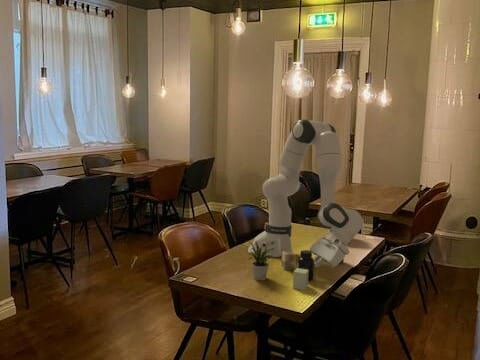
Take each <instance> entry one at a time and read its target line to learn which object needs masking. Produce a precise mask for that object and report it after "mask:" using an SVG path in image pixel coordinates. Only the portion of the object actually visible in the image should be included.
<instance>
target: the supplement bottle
mask: <svg viewBox="0 0 480 360" xmlns="http://www.w3.org/2000/svg"><path fill="white" fill-rule="evenodd" d="M297 268H300V269H307V270H309V273H308V282H311V281H313V280H314V278H315V267H314V258H313V253H312V252H311V251H310V249H308V250H307V249H306V250H305V249H304V250H300V255H299V257H298V259H297Z"/></svg>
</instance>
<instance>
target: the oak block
mask: <svg viewBox="0 0 480 360" xmlns="http://www.w3.org/2000/svg"><path fill="white" fill-rule="evenodd" d="M296 258H297V254H296V253H295V252H294V251H293V250H292V251H282V256H281V267H282V269H283V270H284V271H286V270H294V271H295V269H296V261H297V260H296Z"/></svg>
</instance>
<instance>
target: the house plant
mask: <svg viewBox="0 0 480 360" xmlns="http://www.w3.org/2000/svg"><path fill="white" fill-rule="evenodd" d="M263 242H264V241H263ZM248 243H249V245H248V248H249V247H250V246H251V245H252V247H253V248H252V249H253V251H254V252H255V254H254V253H253V252H252V253H249V255H250V256H249V257H248V260H247V261H250V260H253V259H254V261H253V262H252V263H251V266H252V276H253V279H254V280H258V281H264V280H266V278H267V274H268V269H269V263H268V260H270V259H272V258H275V257H272V255H267V256H266V254H267V253H268V252H269V251H270V250H271V249H272V248H273V247H275V246H273V247H272V248H270V249H268V250H266V249H267V246H268V244H267V246H266V248H265V250H264V252H262V254H261V250H262V247H261V248H259V246H258V244H257V242H255V243H256V246H257V250H256V251H255V248H254V246H253V242H252V243H251V242H250V241H248ZM264 245H265V244H264ZM250 250H251V249H250ZM251 251H252V250H251ZM256 252H257V253H256ZM266 252H267V253H266Z"/></svg>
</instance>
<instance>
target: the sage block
mask: <svg viewBox="0 0 480 360" xmlns="http://www.w3.org/2000/svg"><path fill="white" fill-rule="evenodd" d="M308 273H309V270H307V269H300V268H298V267H295V270H294V271H293V274H292V275H293V278H292V289H295V290H300V291H306V289H307V288H308V284H309V281H308Z"/></svg>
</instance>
